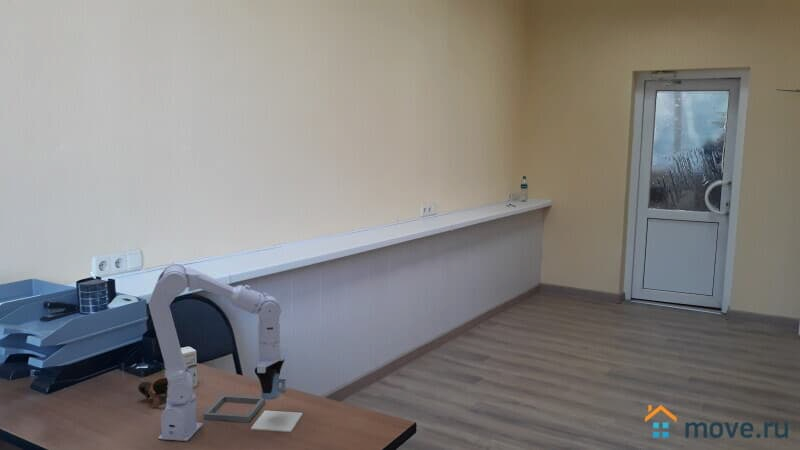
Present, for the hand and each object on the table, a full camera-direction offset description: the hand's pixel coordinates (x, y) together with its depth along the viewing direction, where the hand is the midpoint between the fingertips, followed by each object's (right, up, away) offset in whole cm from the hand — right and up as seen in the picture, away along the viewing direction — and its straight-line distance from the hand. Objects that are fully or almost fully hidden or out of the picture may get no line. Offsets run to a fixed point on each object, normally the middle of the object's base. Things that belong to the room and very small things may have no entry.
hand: (270, 388), depth 172 cm
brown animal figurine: (-35, -7, +13) cm, 38 cm away
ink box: (-32, -6, +24) cm, 41 cm away
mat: (+2, -9, 0) cm, 9 cm away
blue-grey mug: (0, -2, 0) cm, 2 cm away
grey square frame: (-11, -8, +7) cm, 16 cm away
